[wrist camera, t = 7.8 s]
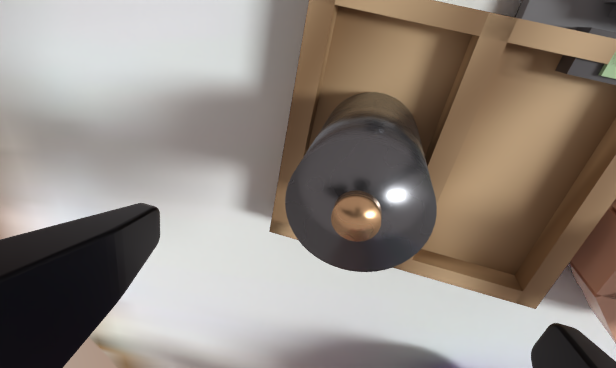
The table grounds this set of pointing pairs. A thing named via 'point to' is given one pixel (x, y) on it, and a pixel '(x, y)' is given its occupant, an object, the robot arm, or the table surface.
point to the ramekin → (599, 270)
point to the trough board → (472, 131)
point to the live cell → (363, 187)
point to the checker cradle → (581, 17)
